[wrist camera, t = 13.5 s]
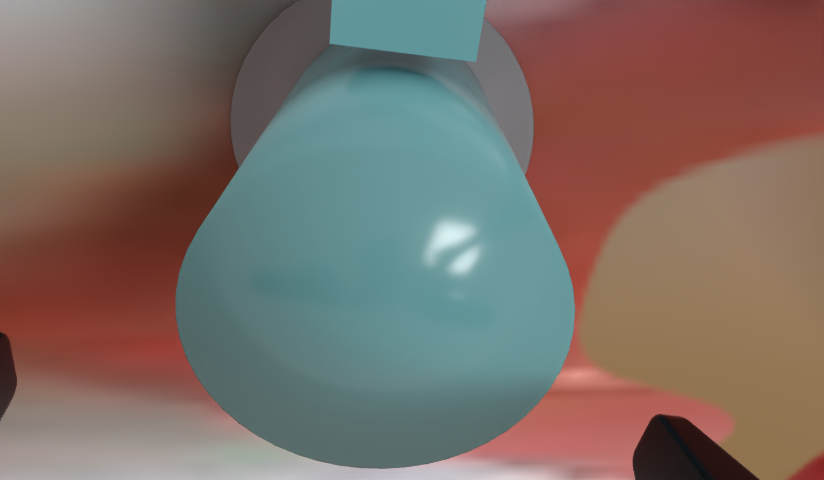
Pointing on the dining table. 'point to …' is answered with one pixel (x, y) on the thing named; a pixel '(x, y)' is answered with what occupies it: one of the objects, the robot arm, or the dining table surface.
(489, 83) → the coaster
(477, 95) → the jug
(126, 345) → the dining table surface
